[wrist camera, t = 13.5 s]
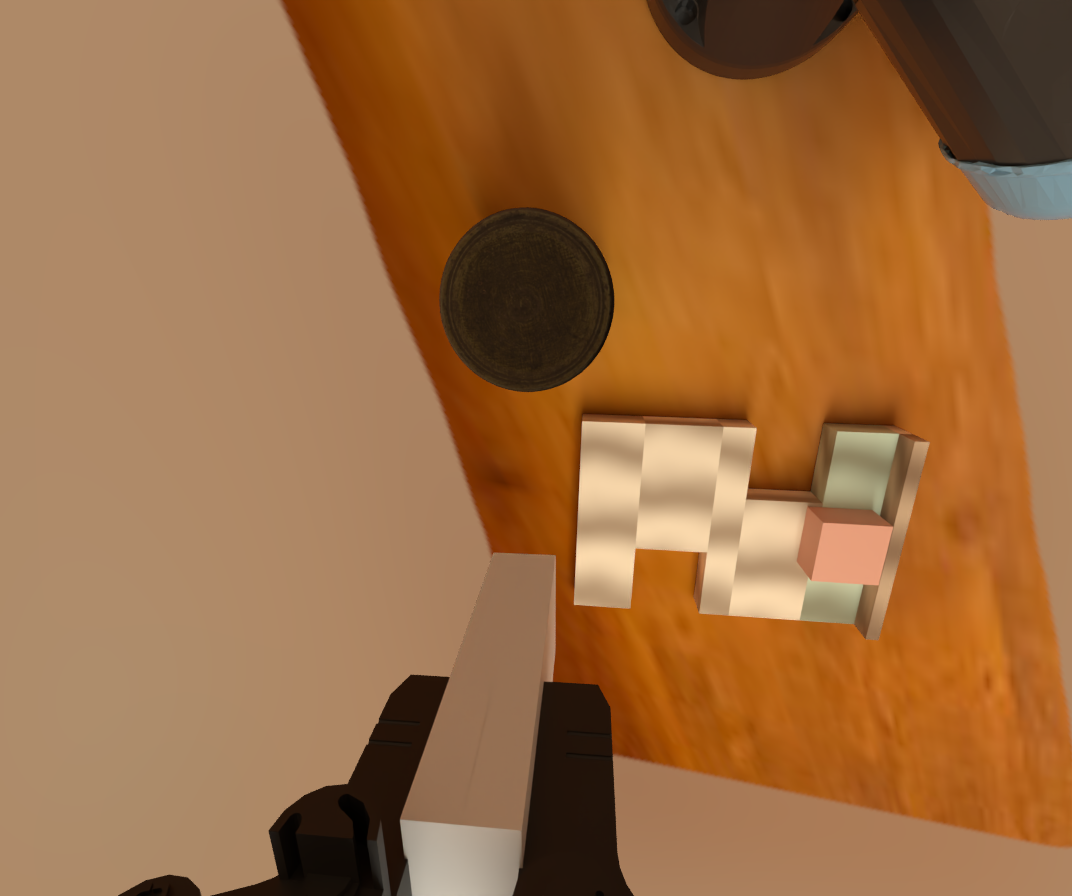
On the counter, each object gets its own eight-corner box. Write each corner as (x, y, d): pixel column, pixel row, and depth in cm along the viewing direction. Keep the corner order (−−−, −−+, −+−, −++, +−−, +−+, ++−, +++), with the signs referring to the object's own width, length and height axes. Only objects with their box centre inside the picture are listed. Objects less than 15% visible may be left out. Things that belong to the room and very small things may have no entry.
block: (807, 506, 42) (823, 522, 39) (872, 509, 42) (893, 526, 39) (796, 561, 44) (811, 581, 41) (859, 565, 43) (878, 585, 40)
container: (471, 283, 42) (390, 285, 25) (562, 208, 40) (542, 154, 22) (538, 374, 44) (506, 435, 26) (629, 307, 41) (658, 326, 24)
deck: (582, 413, 44) (581, 427, 40) (894, 425, 42) (929, 442, 38) (574, 589, 49) (573, 618, 45) (852, 607, 47) (878, 640, 43)
